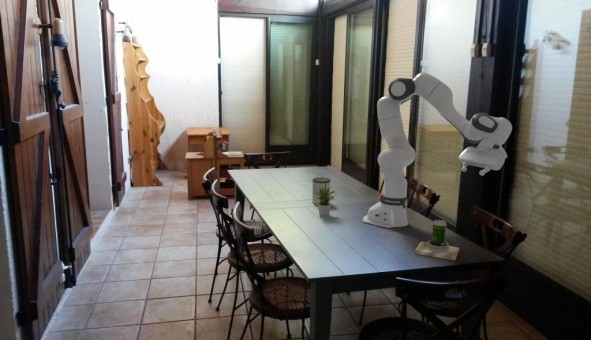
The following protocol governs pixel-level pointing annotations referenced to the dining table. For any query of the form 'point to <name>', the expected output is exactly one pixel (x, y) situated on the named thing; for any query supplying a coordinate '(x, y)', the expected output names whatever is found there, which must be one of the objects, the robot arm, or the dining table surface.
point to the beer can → (439, 233)
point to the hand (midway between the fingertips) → (471, 172)
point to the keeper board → (437, 250)
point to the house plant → (324, 201)
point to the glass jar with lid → (320, 183)
